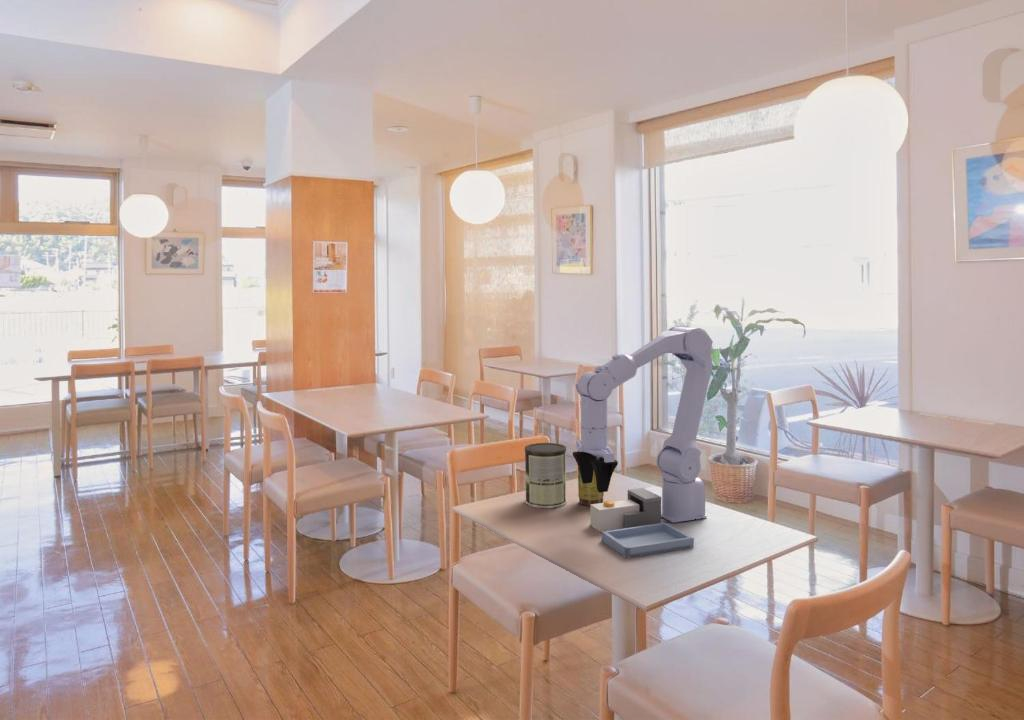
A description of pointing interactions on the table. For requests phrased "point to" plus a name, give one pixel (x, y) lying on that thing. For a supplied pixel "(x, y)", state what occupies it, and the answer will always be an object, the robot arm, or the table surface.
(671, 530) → the tray
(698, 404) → the robot arm
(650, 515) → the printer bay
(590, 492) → the sauce bottle
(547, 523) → the table surface
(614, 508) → the white block with knob
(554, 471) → the coffee can
